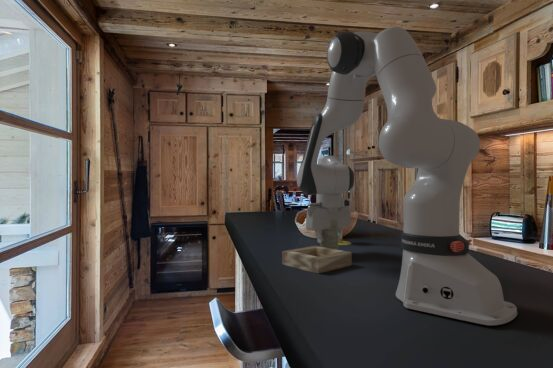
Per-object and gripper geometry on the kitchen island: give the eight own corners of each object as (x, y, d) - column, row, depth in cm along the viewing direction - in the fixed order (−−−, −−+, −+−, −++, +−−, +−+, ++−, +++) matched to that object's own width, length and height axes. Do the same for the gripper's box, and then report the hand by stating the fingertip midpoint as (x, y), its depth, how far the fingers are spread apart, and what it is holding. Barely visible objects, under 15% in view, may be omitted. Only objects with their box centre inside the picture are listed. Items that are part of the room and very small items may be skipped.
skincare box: (337, 253, 126) (337, 219, 126) (338, 255, 121) (338, 220, 121) (319, 253, 126) (319, 219, 126) (320, 255, 122) (319, 220, 122)
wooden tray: (351, 265, 107) (351, 252, 107) (317, 273, 97) (317, 259, 97) (315, 257, 119) (315, 245, 119) (282, 264, 109) (282, 251, 109)
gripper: (315, 203, 115) (315, 246, 115) (353, 201, 128) (353, 239, 128) (301, 202, 119) (301, 243, 119) (340, 200, 133) (340, 237, 133)
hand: (328, 241), depth 124 cm, fingers closed on skincare box, 7 cm apart
